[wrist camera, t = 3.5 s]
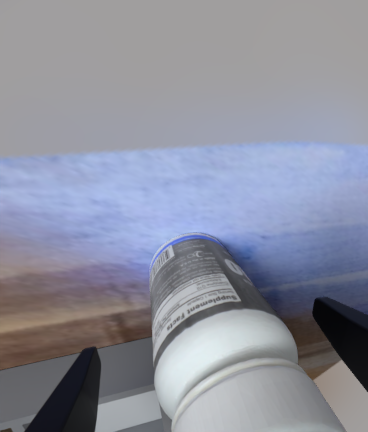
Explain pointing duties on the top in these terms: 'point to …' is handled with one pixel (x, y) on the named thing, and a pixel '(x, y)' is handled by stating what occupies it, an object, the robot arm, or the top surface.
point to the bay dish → (108, 393)
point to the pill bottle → (225, 348)
